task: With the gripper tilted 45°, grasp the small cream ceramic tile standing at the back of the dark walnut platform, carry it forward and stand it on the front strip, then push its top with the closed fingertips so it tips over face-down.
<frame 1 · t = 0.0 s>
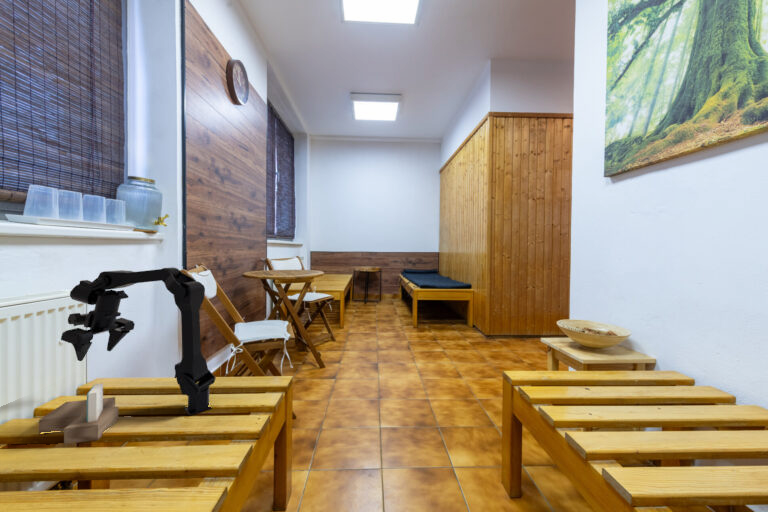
hand: (95, 355, 97), 15 cm above the bench, tool pointing down, fingers open, 9 cm apart
tile: (95, 415, 83), point 4 cm above the bench, touching platform
platform: (88, 420, 87), on the bench
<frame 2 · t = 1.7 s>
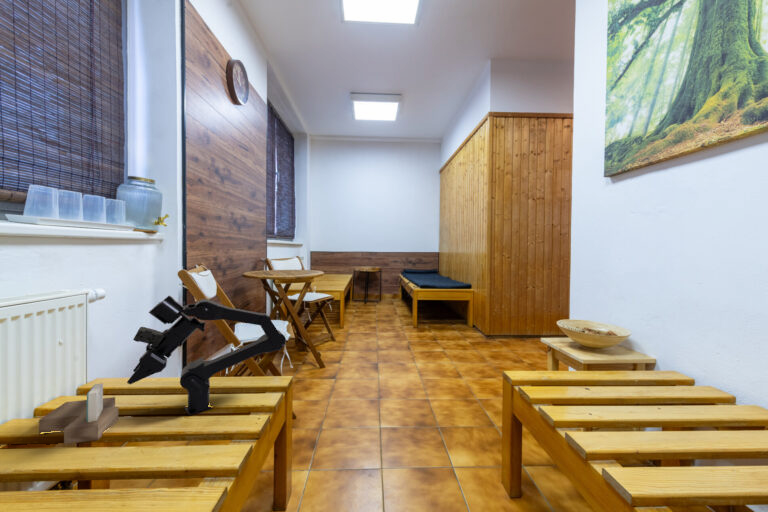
hand: (131, 377, 87), 13 cm above the bench, tool tilted 45°, fingers open, 9 cm apart
nothing on the bench moved.
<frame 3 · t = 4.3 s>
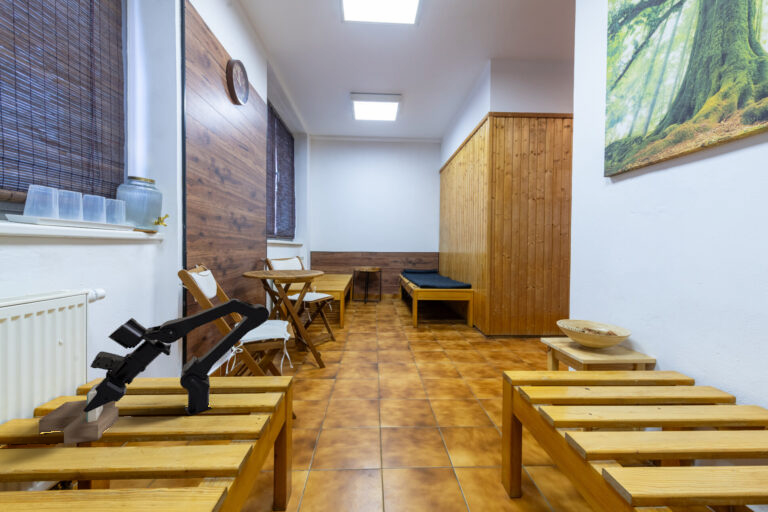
hand: (88, 405, 82), 7 cm above the bench, tool tilted 45°, fingers closed on tile, 6 cm apart
tile: (95, 415, 83), point 4 cm above the bench, touching gripper, platform
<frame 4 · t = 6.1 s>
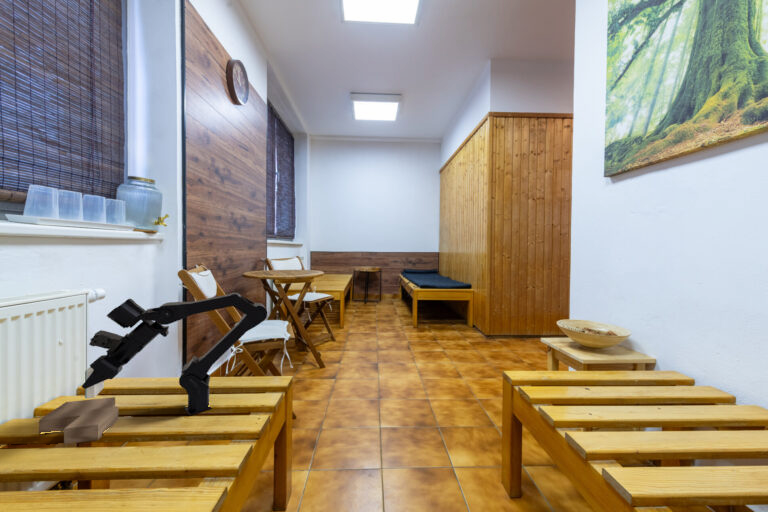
hand: (88, 382, 84), 13 cm above the bench, tool tilted 45°, fingers closed on tile, 6 cm apart
tile: (95, 392, 84), point 9 cm above the bench, touching gripper
when the fingers open (8 cm above the bench, at t = 8.1 s): tile stays where it is, resting on platform.
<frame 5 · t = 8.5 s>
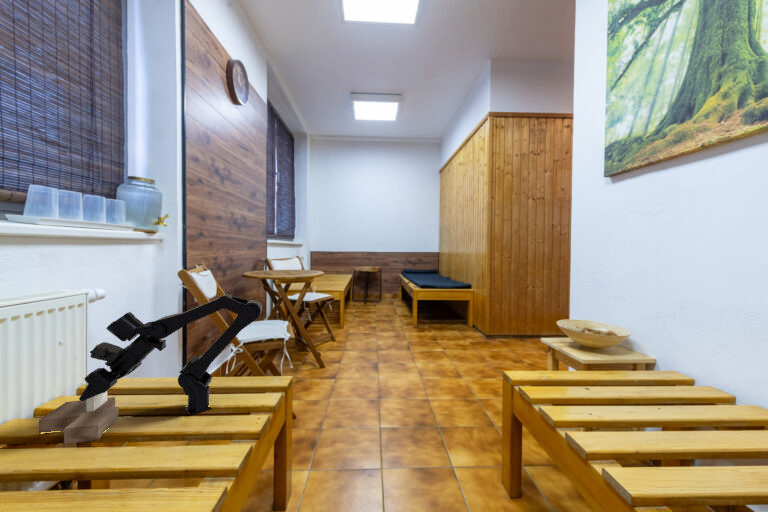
hand: (91, 392, 87), 8 cm above the bench, tool tilted 45°, fingers open, 9 cm apart
tile: (97, 405, 88), point 4 cm above the bench, touching platform
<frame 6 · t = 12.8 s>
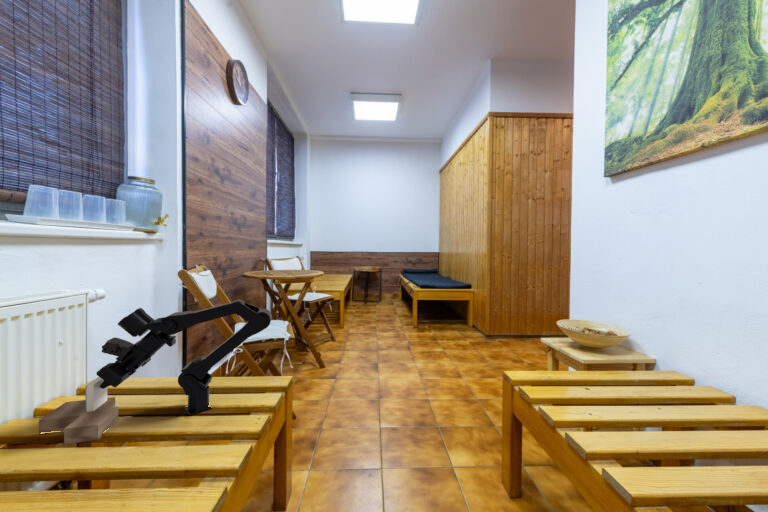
hand: (101, 387, 88), 9 cm above the bench, tool tilted 45°, fingers closed, pressing on tile
tile: (97, 405, 88), point 4 cm above the bench, touching gripper, platform
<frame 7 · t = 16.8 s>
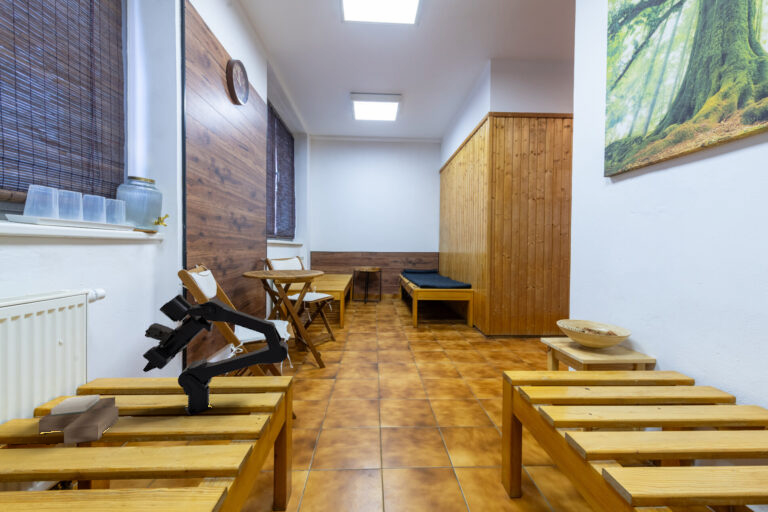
hand: (144, 370, 91), 13 cm above the bench, tool tilted 45°, fingers closed
tile: (92, 402, 88), point 5 cm above the bench, tilted 90°, touching platform
at the end: tile tilted 90°; tile touching platform; tile 1.0 cm from the platform (horizontally) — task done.
